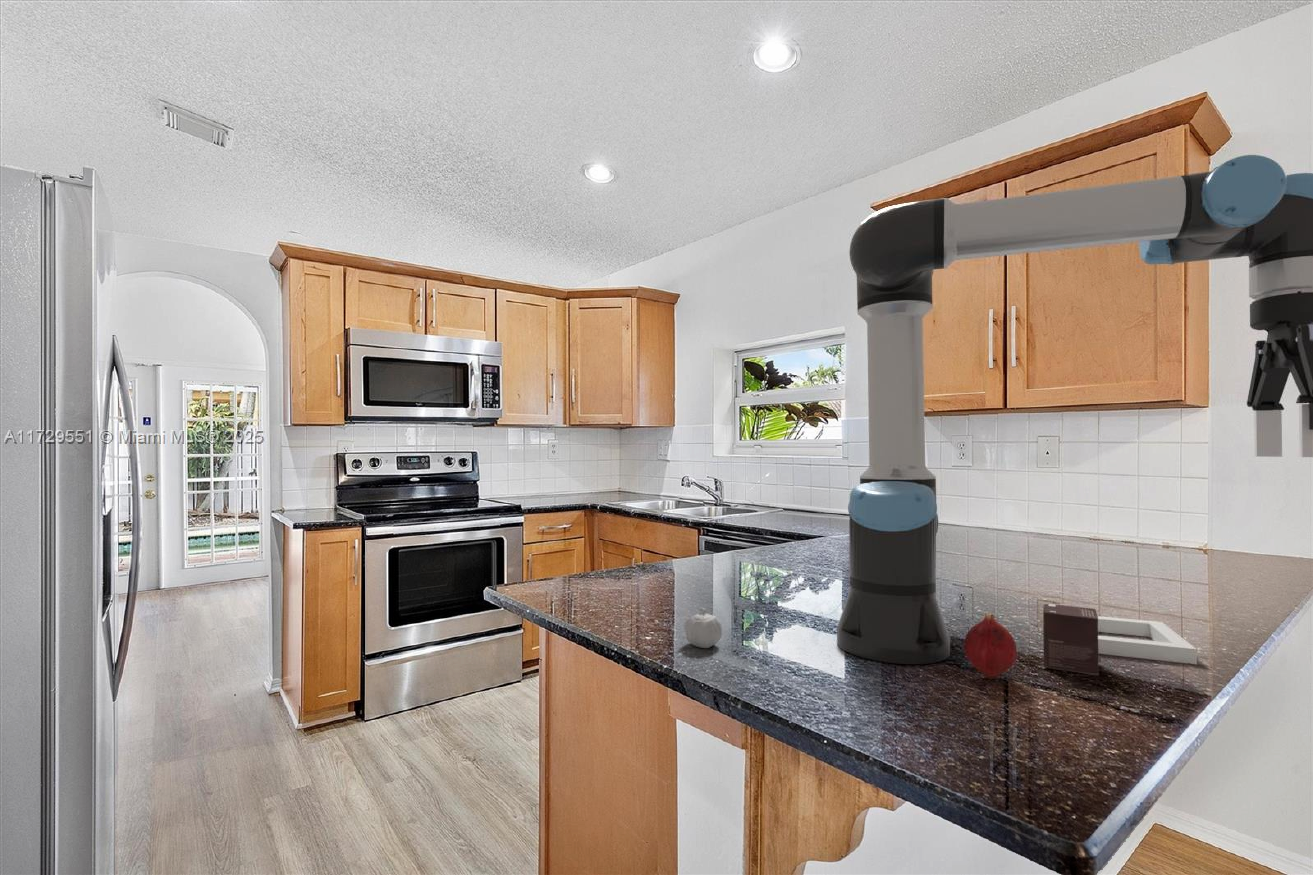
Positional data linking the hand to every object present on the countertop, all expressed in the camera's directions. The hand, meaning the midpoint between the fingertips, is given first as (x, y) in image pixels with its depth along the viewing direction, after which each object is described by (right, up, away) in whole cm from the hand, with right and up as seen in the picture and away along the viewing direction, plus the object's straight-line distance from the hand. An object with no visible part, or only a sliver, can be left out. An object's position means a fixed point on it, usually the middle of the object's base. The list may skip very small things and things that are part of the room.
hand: (1290, 457), depth 85 cm
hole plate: (-16, -28, +11) cm, 34 cm away
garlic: (-77, -28, +8) cm, 82 cm away
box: (-29, -28, 0) cm, 40 cm away
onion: (-42, -28, -5) cm, 51 cm away
